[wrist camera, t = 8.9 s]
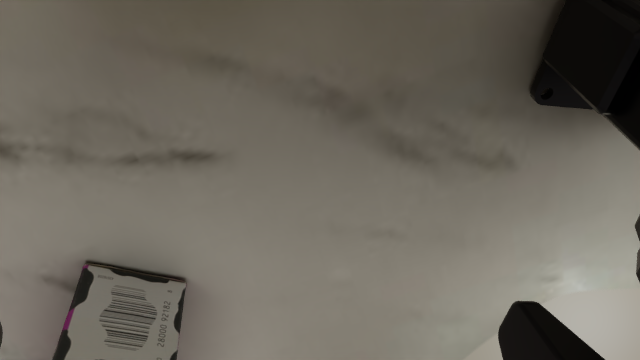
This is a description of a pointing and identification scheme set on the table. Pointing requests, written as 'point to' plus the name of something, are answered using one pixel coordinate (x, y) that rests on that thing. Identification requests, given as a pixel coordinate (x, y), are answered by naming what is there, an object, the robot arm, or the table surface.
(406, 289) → the table surface
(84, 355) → the candy bar box
